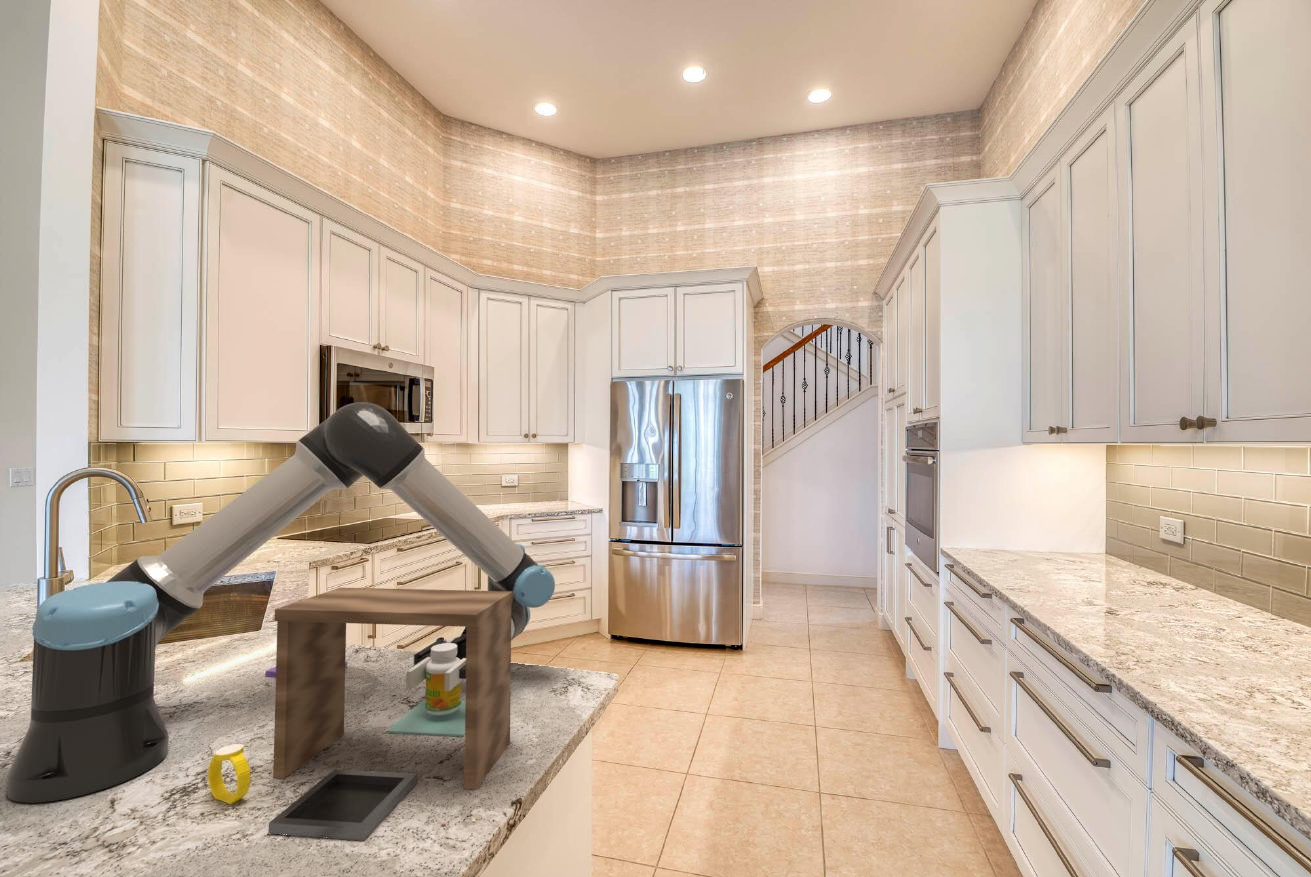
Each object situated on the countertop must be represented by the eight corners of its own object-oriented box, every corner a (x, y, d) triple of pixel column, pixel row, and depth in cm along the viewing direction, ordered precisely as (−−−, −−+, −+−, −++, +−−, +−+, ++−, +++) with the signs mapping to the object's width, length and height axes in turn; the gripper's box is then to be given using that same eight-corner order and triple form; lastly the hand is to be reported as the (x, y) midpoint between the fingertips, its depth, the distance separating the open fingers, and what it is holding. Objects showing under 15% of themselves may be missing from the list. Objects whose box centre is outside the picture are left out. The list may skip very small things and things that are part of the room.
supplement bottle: (417, 711, 90) (418, 649, 91) (444, 699, 95) (445, 639, 95) (442, 718, 88) (442, 654, 88) (468, 705, 93) (469, 644, 93)
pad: (425, 699, 98) (425, 698, 98) (494, 702, 97) (494, 701, 97) (386, 732, 86) (386, 730, 86) (463, 736, 85) (463, 734, 85)
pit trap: (334, 778, 73) (334, 769, 74) (416, 783, 72) (416, 773, 72) (268, 834, 63) (268, 822, 63) (363, 840, 61) (364, 829, 61)
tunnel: (336, 732, 86) (339, 587, 87) (511, 740, 84) (512, 591, 84) (270, 779, 73) (274, 609, 74) (474, 791, 71) (476, 614, 71)
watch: (201, 802, 69) (200, 750, 69) (226, 790, 72) (225, 740, 72) (232, 810, 67) (231, 757, 67) (257, 797, 69) (256, 746, 70)
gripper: (534, 656, 108) (486, 709, 85) (441, 653, 110) (369, 704, 87) (534, 616, 109) (487, 657, 86) (441, 613, 111) (370, 654, 87)
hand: (427, 681), depth 86 cm, fingers closed on supplement bottle, 5 cm apart
